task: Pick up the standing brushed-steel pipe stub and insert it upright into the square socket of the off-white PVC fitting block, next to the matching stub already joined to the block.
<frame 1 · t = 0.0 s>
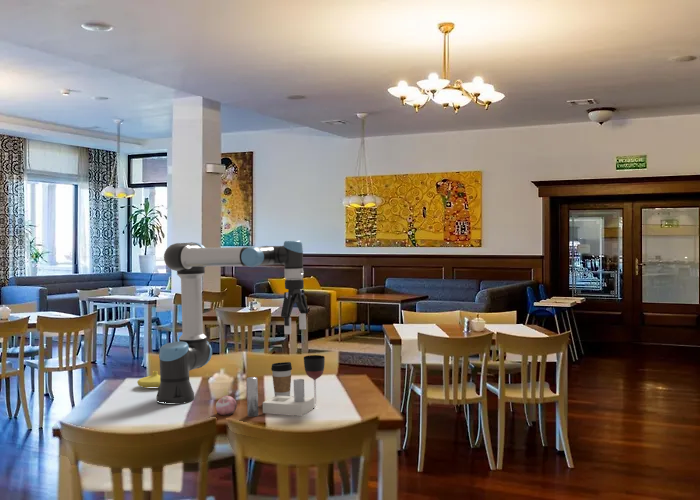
hand: (295, 331, 283), 28 cm above the table, fingers open, 13 cm apart
coffee cup: (282, 400, 287), on the table
wineglass: (315, 408, 273), on the table, touching socket block
yellow knobbed lid: (155, 387, 317), on the table
red onion: (226, 414, 266), on the table
socket block: (288, 410, 269), on the table
pipe: (253, 415, 263), on the table
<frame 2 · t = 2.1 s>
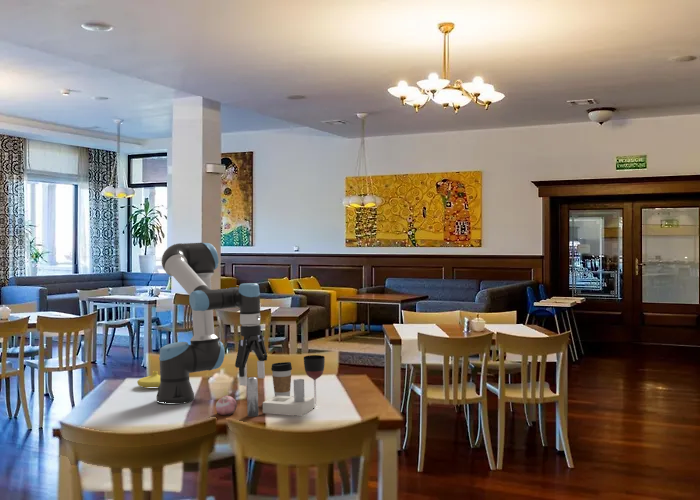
hand: (252, 381, 262), 13 cm above the table, fingers open, 13 cm apart
nothing on the table moved.
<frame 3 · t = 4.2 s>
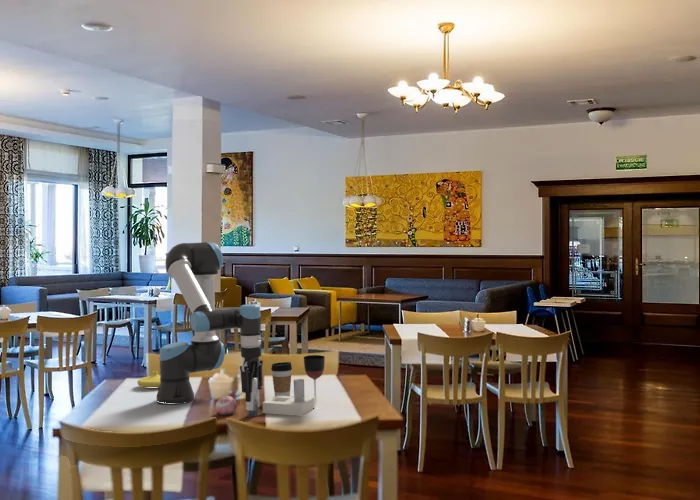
hand: (252, 408, 263), 3 cm above the table, fingers closed on pipe, 4 cm apart
pipe: (253, 415, 263), on the table, touching gripper
everything else where it was.
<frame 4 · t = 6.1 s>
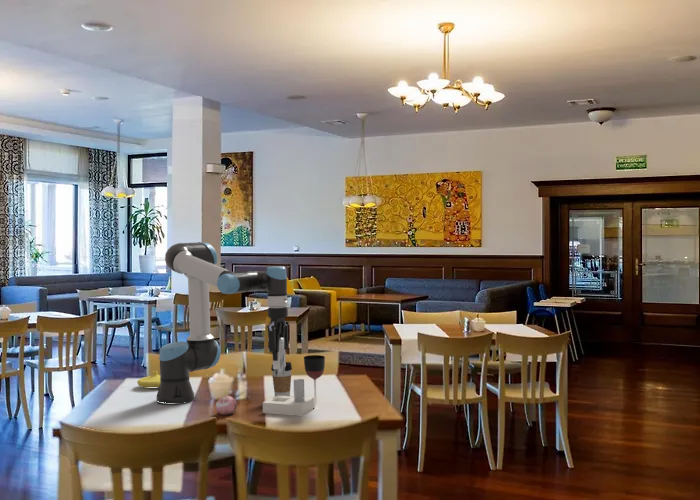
hand: (279, 367, 269), 16 cm above the table, fingers closed on pipe, 4 cm apart
pipe: (279, 374, 269), point 14 cm above the table, touching gripper
everything else where it was.
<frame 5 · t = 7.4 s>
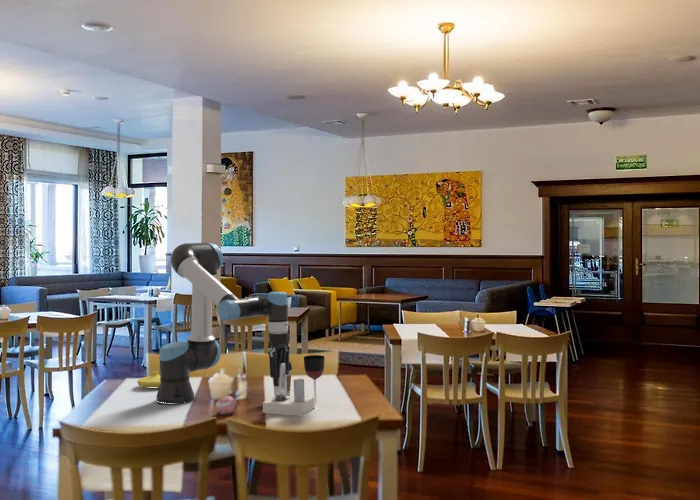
hand: (280, 393, 270), 7 cm above the table, fingers closed on pipe, 4 cm apart
pipe: (280, 399, 270), point 4 cm above the table, touching gripper
everything else where it was.
when the fingers open (5 cm above the table, at t = 8.2 s): pipe drops 2 cm, resting in socket block.
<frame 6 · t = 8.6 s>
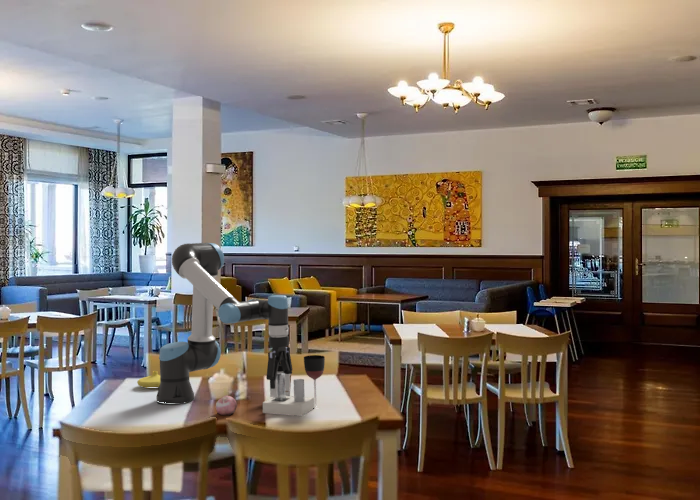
hand: (280, 393, 270), 6 cm above the table, fingers open, 10 cm apart
pipe: (280, 410, 270), resting in socket block
everything else where it was.
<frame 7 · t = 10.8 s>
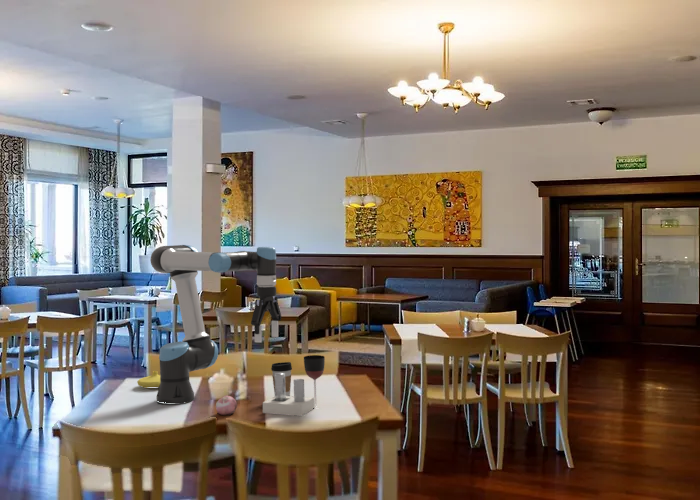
hand: (266, 339, 278), 26 cm above the table, fingers open, 13 cm apart
nothing on the table moved.
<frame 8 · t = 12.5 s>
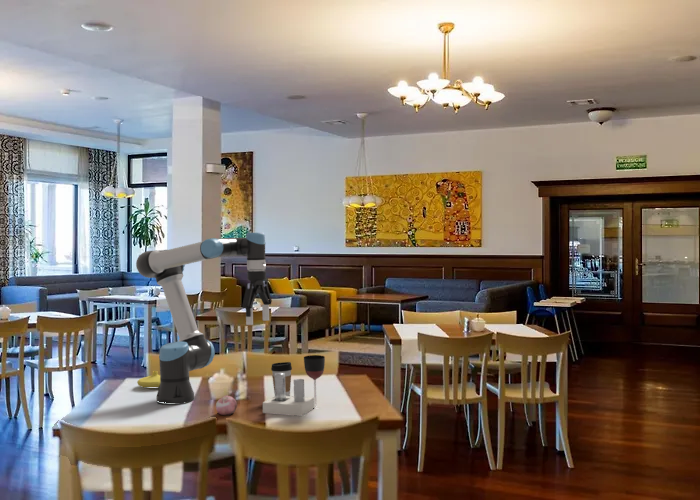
hand: (258, 322, 286), 32 cm above the table, fingers open, 13 cm apart
nothing on the table moved.
at the end: pipe 0.0 cm from the target spot on the socket block, point 0.0 cm above the socket block's base; pipe tilted 0°; the gripper is holding nothing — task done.
